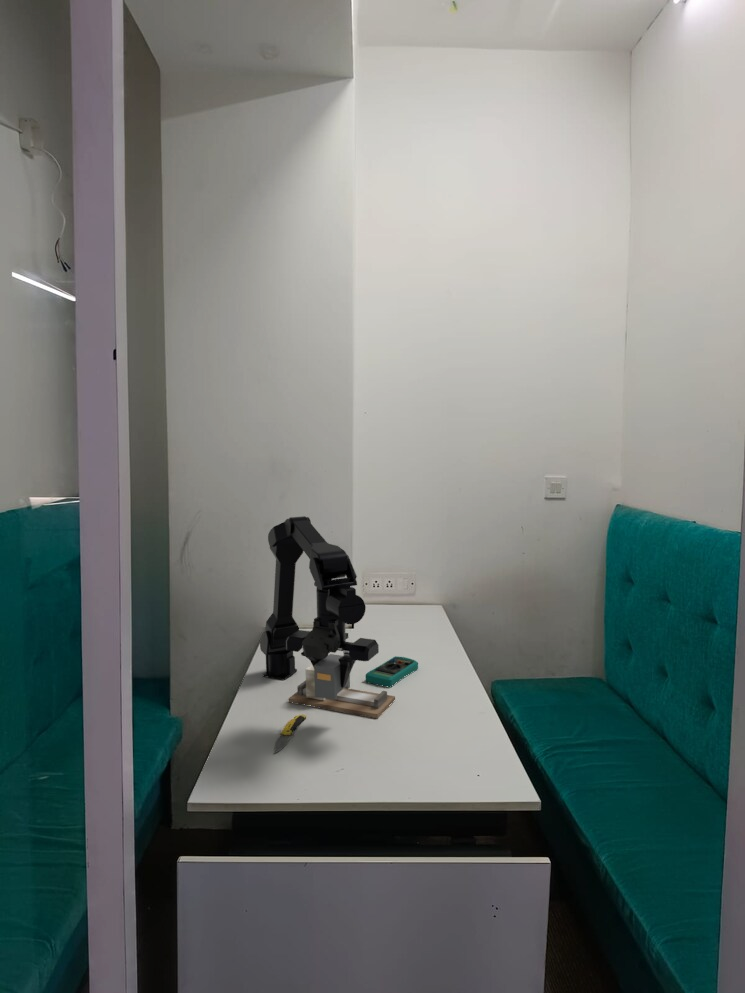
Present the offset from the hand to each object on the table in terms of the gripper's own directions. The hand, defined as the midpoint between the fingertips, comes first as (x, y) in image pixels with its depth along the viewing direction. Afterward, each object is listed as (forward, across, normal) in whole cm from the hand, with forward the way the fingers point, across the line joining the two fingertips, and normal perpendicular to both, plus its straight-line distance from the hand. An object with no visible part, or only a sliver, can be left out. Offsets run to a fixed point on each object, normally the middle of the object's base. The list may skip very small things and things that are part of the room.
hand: (332, 685), depth 134 cm
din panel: (+9, -4, +12) cm, 16 cm away
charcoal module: (+1, 0, 0) cm, 1 cm away
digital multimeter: (+10, +1, +31) cm, 32 cm away
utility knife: (+10, -7, -6) cm, 14 cm away
